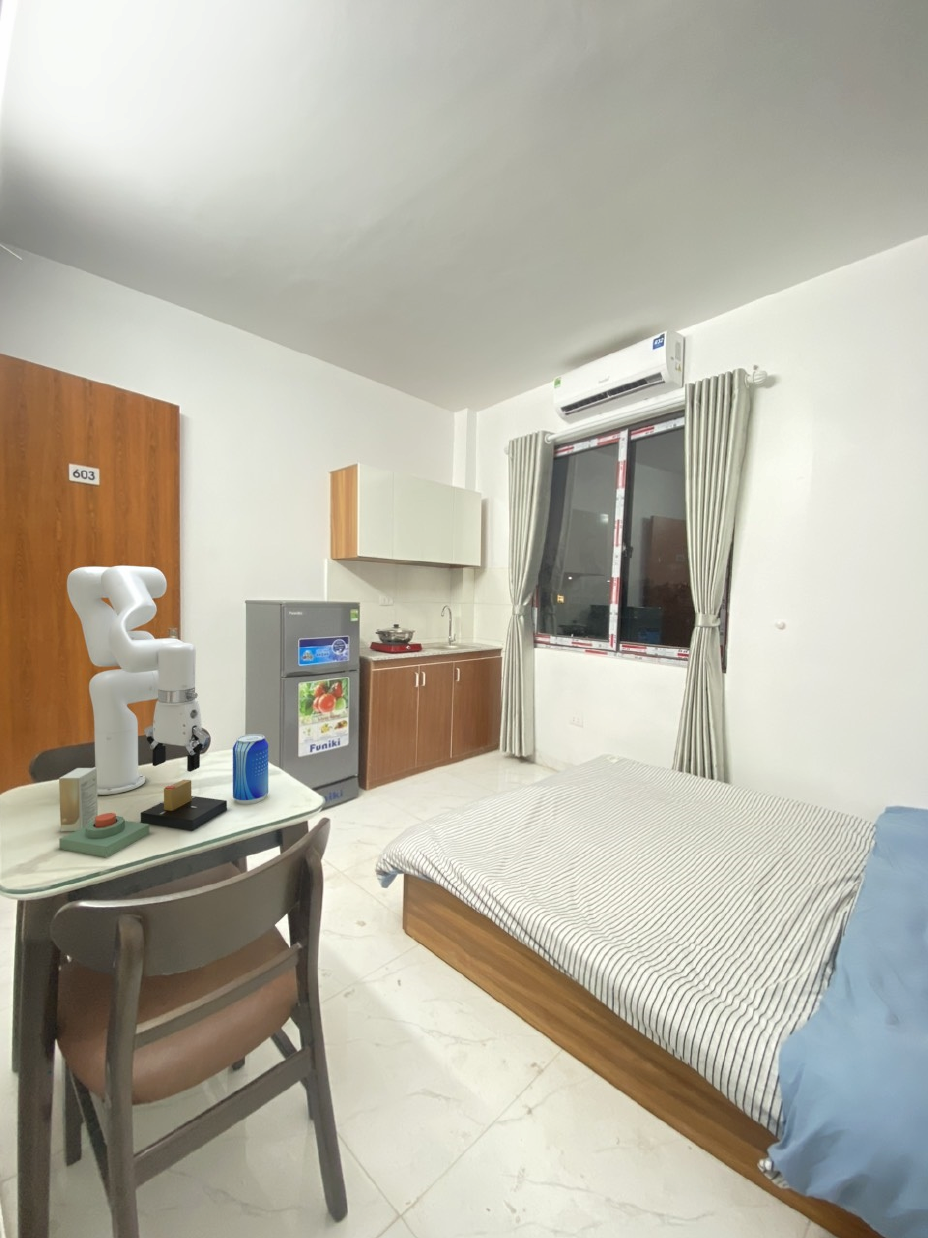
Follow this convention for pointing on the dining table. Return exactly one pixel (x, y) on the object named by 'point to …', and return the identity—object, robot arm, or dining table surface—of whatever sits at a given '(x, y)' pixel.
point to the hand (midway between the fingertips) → (176, 766)
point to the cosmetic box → (78, 798)
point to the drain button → (105, 820)
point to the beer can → (250, 769)
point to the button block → (104, 837)
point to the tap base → (185, 814)
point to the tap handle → (177, 795)
